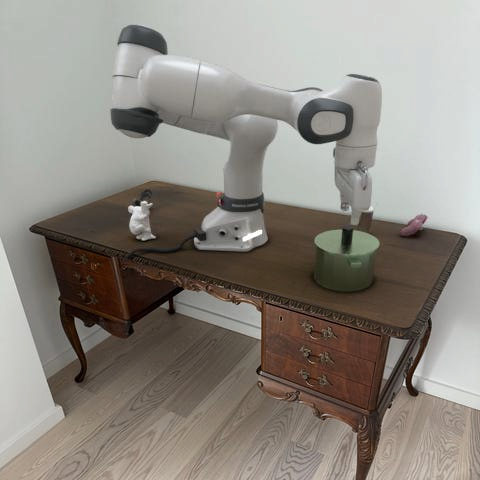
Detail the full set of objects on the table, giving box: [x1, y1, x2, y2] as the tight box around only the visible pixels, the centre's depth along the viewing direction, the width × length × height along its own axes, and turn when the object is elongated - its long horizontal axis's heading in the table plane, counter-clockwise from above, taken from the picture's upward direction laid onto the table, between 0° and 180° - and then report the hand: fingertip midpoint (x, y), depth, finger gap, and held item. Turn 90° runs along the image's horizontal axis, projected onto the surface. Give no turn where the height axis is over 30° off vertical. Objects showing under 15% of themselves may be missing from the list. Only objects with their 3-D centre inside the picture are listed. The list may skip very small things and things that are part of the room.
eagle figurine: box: [131, 188, 153, 210], centre depth 167 cm, size 8×7×9 cm
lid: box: [313, 225, 380, 257], centre depth 113 cm, size 16×16×5 cm
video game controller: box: [399, 213, 429, 237], centre depth 142 cm, size 10×5×7 cm, turn 148°
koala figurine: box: [127, 201, 157, 242], centre depth 142 cm, size 8×7×12 cm
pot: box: [313, 246, 378, 293], centre depth 117 cm, size 15×20×10 cm
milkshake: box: [357, 202, 378, 234], centre depth 140 cm, size 4×5×10 cm
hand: (349, 216), depth 110 cm, fingers open, 8 cm apart
